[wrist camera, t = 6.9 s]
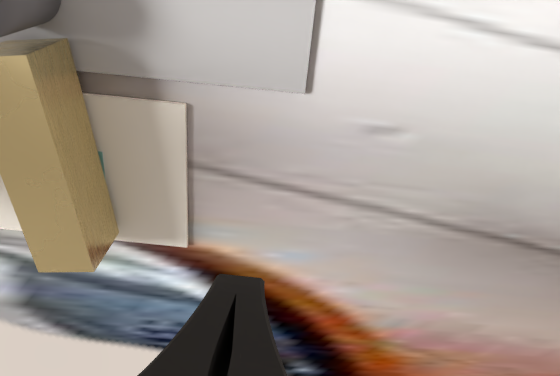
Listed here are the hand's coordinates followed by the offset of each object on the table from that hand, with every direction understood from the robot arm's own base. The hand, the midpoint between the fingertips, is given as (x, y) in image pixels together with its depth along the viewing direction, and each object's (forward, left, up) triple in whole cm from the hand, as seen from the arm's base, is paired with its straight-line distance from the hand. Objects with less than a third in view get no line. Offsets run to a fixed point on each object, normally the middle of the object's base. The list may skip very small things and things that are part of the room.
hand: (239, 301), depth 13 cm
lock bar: (-9, +1, -8) cm, 12 cm away
